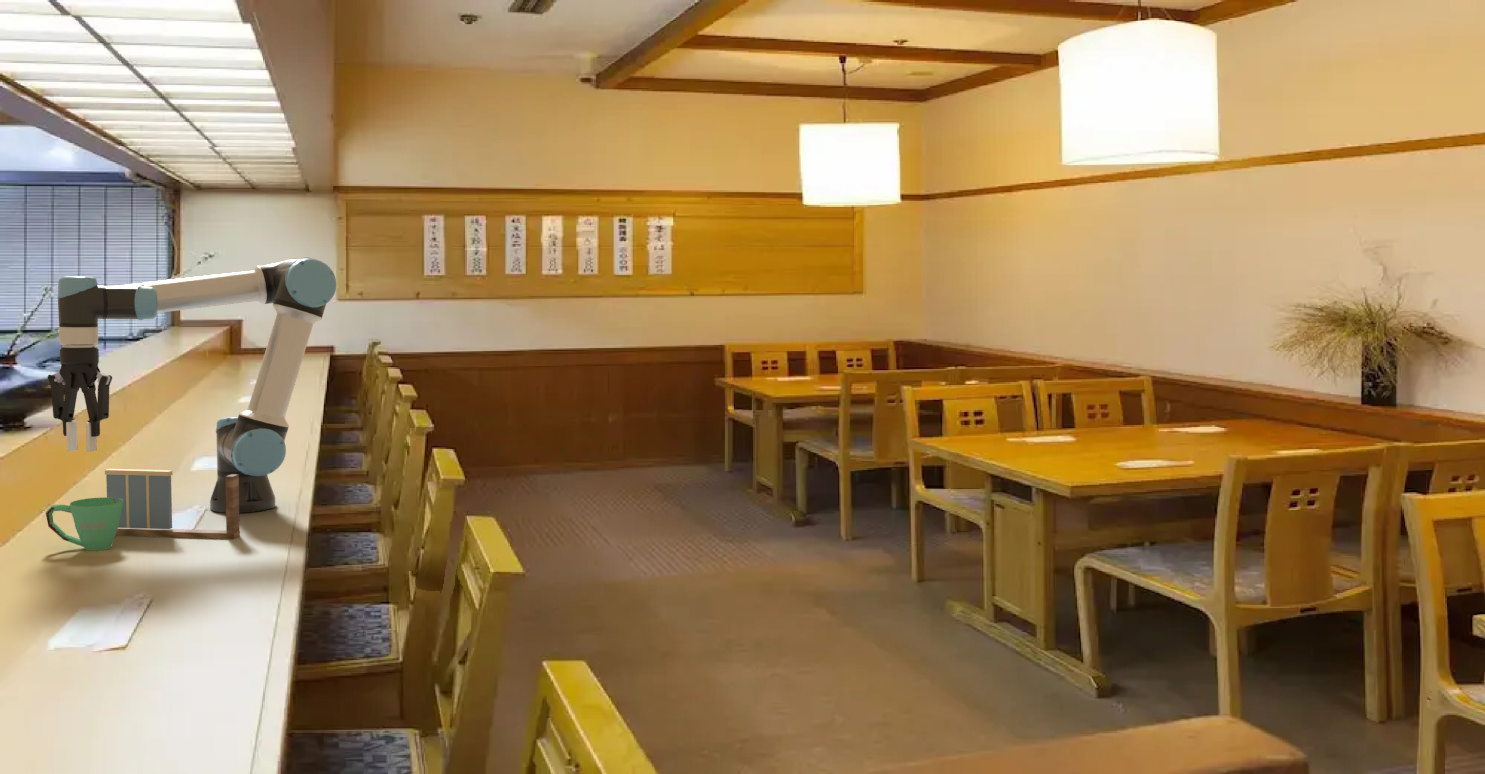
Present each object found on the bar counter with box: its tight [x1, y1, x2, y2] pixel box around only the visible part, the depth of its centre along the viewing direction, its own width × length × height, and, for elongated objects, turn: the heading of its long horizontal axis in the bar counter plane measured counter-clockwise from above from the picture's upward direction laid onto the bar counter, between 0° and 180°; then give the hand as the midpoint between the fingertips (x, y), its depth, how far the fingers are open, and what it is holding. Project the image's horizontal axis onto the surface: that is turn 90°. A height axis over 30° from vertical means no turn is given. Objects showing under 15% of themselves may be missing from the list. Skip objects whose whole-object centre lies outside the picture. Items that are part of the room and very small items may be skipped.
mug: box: [45, 496, 123, 552], centre depth 245 cm, size 15×10×10 cm
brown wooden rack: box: [115, 474, 241, 540], centre depth 259 cm, size 31×3×14 cm, turn 88°
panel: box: [104, 468, 173, 529], centre depth 259 cm, size 14×2×13 cm, turn 88°
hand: (82, 450), depth 259 cm, fingers open, 4 cm apart
